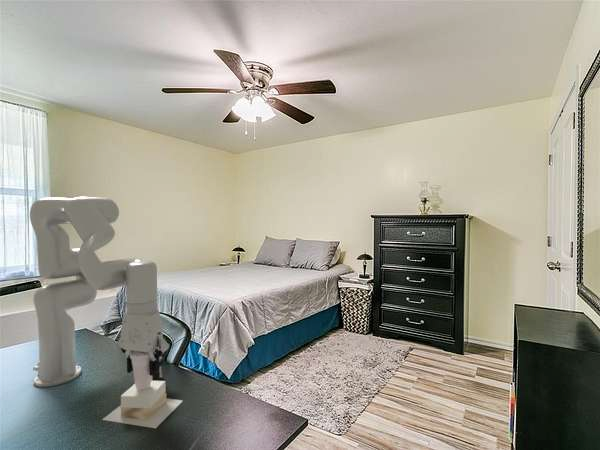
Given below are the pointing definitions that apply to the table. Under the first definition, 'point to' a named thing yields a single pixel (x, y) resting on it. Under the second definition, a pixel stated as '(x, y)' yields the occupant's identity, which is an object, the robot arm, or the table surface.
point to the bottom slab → (143, 410)
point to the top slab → (143, 395)
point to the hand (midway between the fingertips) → (143, 371)
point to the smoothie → (141, 369)
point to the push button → (157, 375)
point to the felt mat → (151, 423)
